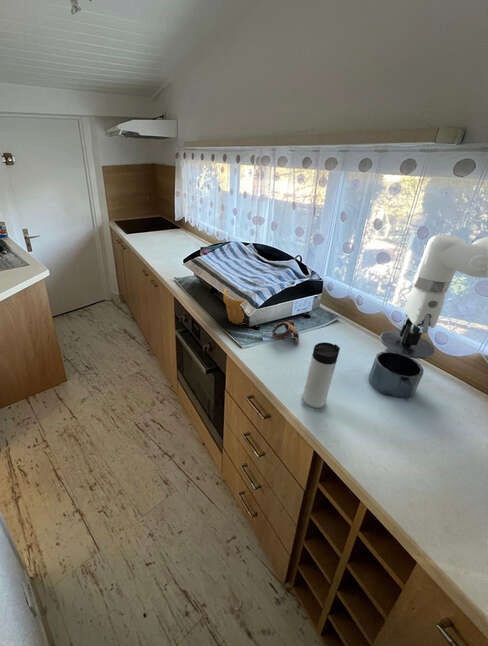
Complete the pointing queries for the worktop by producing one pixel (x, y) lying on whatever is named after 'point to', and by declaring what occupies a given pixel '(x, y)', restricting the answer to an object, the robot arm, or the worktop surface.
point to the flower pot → (234, 309)
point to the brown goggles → (288, 333)
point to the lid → (397, 344)
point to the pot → (395, 374)
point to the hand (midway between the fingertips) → (407, 339)
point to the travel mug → (320, 374)
